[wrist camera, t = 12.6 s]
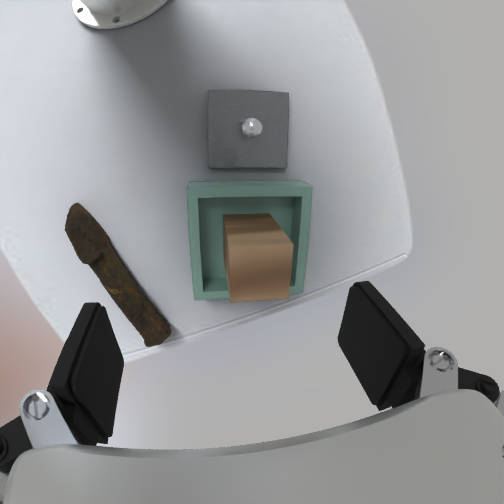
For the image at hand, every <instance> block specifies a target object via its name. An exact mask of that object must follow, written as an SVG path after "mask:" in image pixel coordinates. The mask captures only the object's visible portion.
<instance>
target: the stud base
mask: <svg viewBox="0 0 504 504" xmlns="http://www.w3.org/2000/svg"><path fill="white" fill-rule="evenodd" d="M288 109H289V93H285V92H272V91H254V90H208V168H233V167H271V168H287V145H288Z"/></svg>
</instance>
